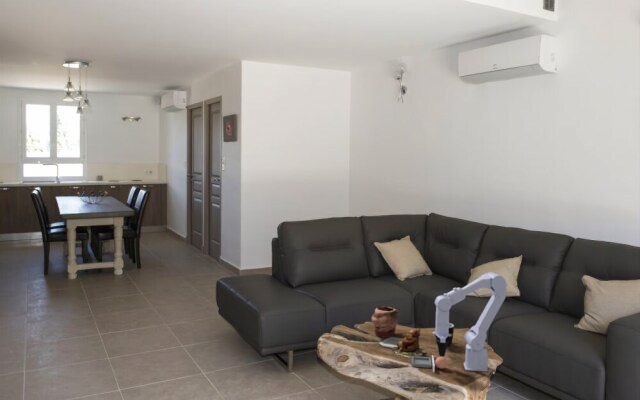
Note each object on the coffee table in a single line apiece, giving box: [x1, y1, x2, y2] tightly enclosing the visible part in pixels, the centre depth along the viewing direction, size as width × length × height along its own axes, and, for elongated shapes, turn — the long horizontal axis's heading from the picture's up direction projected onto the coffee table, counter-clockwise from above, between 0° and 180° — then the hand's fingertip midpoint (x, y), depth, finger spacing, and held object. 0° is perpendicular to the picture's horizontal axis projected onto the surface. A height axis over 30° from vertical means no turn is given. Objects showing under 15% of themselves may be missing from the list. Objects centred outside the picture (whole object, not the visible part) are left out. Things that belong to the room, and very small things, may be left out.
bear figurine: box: [390, 328, 427, 359], centre depth 261 cm, size 14×15×12 cm
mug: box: [435, 322, 455, 347], centre depth 273 cm, size 12×9×10 cm
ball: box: [434, 356, 448, 370], centre depth 242 cm, size 5×5×5 cm
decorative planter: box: [371, 306, 400, 338], centre depth 287 cm, size 20×12×14 cm, turn 139°
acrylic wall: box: [431, 354, 436, 373], centre depth 244 cm, size 1×12×3 cm, turn 172°
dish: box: [411, 356, 432, 369], centre depth 248 cm, size 9×9×2 cm
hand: (441, 352), depth 242 cm, fingers open, 7 cm apart
